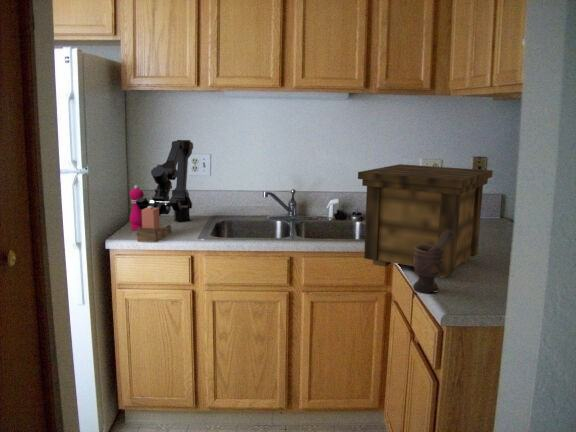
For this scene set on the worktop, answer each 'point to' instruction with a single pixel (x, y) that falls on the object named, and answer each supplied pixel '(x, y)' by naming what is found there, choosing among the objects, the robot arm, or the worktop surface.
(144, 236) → the brown wooden box
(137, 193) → the pepper mill
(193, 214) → the worktop surface
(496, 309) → the worktop surface
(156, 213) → the salmon orange block
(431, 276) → the mortar and pestle
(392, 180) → the crate
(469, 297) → the worktop surface
